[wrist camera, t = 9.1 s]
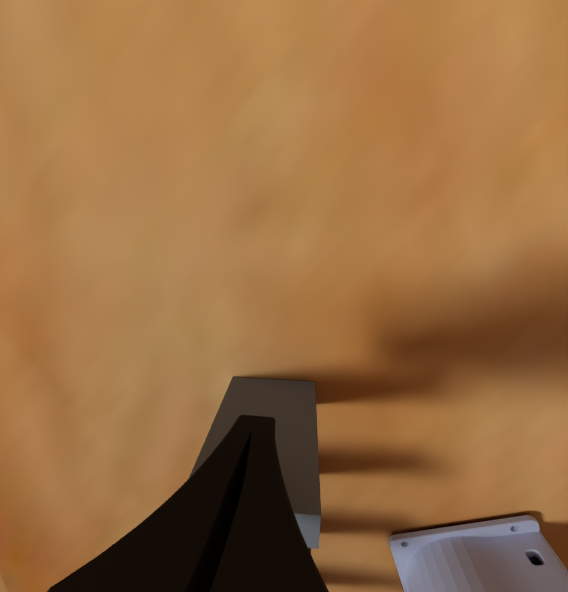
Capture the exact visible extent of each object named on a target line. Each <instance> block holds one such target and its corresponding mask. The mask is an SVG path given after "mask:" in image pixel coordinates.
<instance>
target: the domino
mask: <svg viewBox="0 0 568 592" xmlns="http://www.w3.org/2000/svg"><path fill="white" fill-rule="evenodd" d="M240 415H253V416H265V417H273V418H274V419H275V420H276V423H275V440H276V448H277V454H278V459H279V464H280V468H281V472H282V476H283V480H284V484H285V487H286V491H287V494H288V497H289V500H290V503H291V506H292V509H293V512H294V515H295V517H296V520H297V523H298V525H299V528H300V531H301V533H302V535H303V538H304V540H305V542H306V544H307V547H308V548H317V549H318V547H319V535H320V523H321V502H320V480H319V458H318V436H317V414H316V392H315V382H309V381H293V380H277V379H261V378H246V377H233V378H232V380H231V382H230V384H229V387H228V389H227V391H226V394H225V396H224V398H223V401H222V403H221V405H220V408H219V410H218V412H217V415H216V417H215V419H214V421H213V424H212V426H211V428H210V431H209V433H208V435H207V438H206V440H205V442H204V445H203V447H202V449H201V451H200V454H199V456H198V458H197V461H196V463H195V465H194V468H193V470H192V472H191V475H190V477H191V476H192V475H193V474H194V473H195V472H196V470H197V469H198V468H199V467H200V466H201V465H202V464H203V463H204V462H205V460H206V459H207V458H208V457H209V456H210V455H211V453H212V452H213V451H214V450H215V448H216V447H217V446H218V445H219V443H220V442H221V441H222V439H223V438H224V437H225V435H226V434H227V433H228V431H229V430H230V429H231V427H232V426H233V424H234V423H235V421H236V420H237V418H238V417H239V416H240ZM190 477H189V478H190Z"/></svg>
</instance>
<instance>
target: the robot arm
mask: <svg viewBox="0 0 568 592" xmlns="http://www.w3.org/2000/svg"><path fill="white" fill-rule="evenodd" d="M275 423H276V420H275V419H274V418H273V417H265V416H253V415H240V416H239V417H238V418H237V420H236V421H235V423H234V424H233V426H232V427H231V429H230V430H229V431H228V433H227V434H226V435H225V437H224V438H223V439H222V441H221V442H220V443H219V445H218V446H217V447H216V448H215V450H214V451H213V452H212V453H211V455H210V456H209V457H208V458H207V459H206V460H205V462H204V463H203V464H202V465H201V466H200V467H199V468H198V469H197V470H196V472H195V473H194V474H193V475H192V476H191V477H190V478H189V479H188V480H187V481H186V482H185V483H184V484H183V485H182V486H181V487H180V488H179V489H178V490H177V491H176V492H175V493H174V494H173V495H172V496H171V497H170V498H169V499H168V500H167V501H166V502H165V503H164V504H162V505H161V506H160V507H159V508H158V509H157V510H156V511H154V512H153V513H152V514H151V515H150V516H149V517H148V518H146V519H145V520H144V521H143V522H142V523H140V524H139V525H138V526H137V527H136V528H134V529H133V530H132V531H130V532H129V533H128V534H126V535H125V536H124V537H123V538H121V539H120V540H119V541H117V542H116V543H115V544H113V545H112V546H111V547H109V548H108V549H107V550H106V551H104V552H103V553H101V554H100V555H99V556H97V557H96V558H94V559H93V560H91V561H90V562H88V563H87V564H85V565H84V566H82V567H81V568H79V569H78V570H76V571H75V572H73V573H72V574H70V575H69V576H67V577H66V578H64V579H63V580H61V581H60V582H58V583H57V584H55V585H54V586H52V587H50V589H49V590H48V591H47V592H329V591H328V589H327V587H326V585H325V583H324V581H323V579H322V577H321V575H320V573H319V571H318V569H317V567H316V565H315V563H314V561H313V558H312V556H311V554H310V551H309V549H308V547H307V544H306V542H305V540H304V538H303V535H302V533H301V531H300V528H299V525H298V523H297V520H296V517H295V515H294V512H293V509H292V506H291V503H290V500H289V497H288V494H287V491H286V487H285V484H284V480H283V476H282V472H281V468H280V464H279V459H278V454H277V448H276V440H275ZM389 545H390V548H391V551H392V554H393V557H394V561H395V564H396V567H397V570H398V573H399V576H400V579H401V583H402V586H403V589H404V592H568V570H567V568H566V567H565V566H564V564H563V563H562V561H561V560H560V559H559V557H558V556H557V554H556V553H555V552H554V550H553V549H552V547H551V546H550V545H549V543H548V542H547V540H546V539H545V538H544V536H543V535H542V533H541V532H540V527H539V523H538V521H537V520H536V519H535V517H533V516H531V515H523V516H516V517H510V518H503V519H496V520H490V521H483V522H476V523H469V524H463V525H456V526H449V527H442V528H436V529H429V530H422V531H416V532H409V533H402V534H395V535H392V536H390V537H389Z"/></svg>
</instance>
